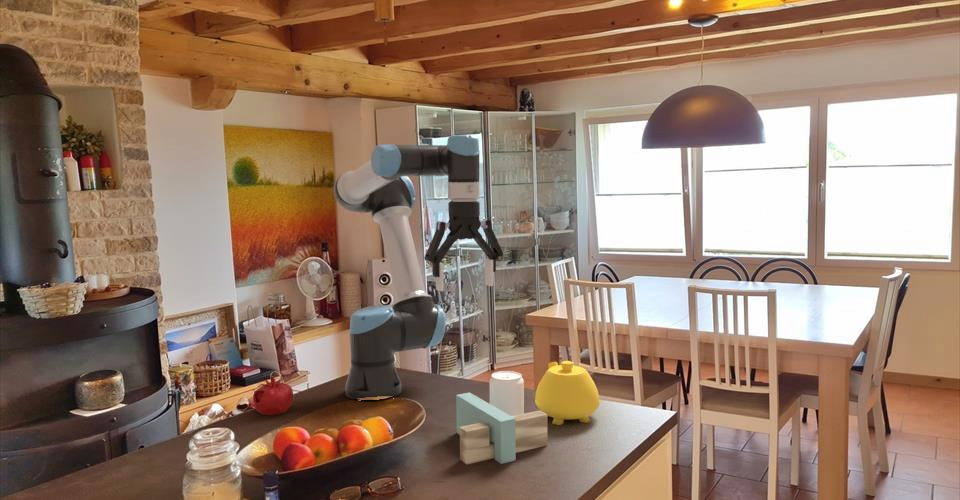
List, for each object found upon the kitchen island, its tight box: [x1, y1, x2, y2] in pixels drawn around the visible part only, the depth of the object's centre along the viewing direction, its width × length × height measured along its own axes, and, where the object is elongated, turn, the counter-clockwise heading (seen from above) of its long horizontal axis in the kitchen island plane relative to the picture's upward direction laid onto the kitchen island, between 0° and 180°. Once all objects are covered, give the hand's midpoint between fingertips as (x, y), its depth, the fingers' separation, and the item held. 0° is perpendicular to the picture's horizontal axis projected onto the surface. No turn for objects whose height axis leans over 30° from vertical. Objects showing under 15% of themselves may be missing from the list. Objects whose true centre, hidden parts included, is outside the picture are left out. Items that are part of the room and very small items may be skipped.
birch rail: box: [459, 409, 548, 465], centre depth 148 cm, size 3×20×7 cm, turn 119°
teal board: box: [455, 392, 517, 465], centre depth 152 cm, size 20×4×9 cm, turn 29°
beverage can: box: [488, 370, 525, 416], centre depth 164 cm, size 8×8×12 cm
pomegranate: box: [252, 375, 295, 416], centre depth 176 cm, size 10×10×9 cm
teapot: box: [534, 360, 600, 426], centre depth 171 cm, size 20×16×14 cm
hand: (465, 288), depth 169 cm, fingers open, 13 cm apart
